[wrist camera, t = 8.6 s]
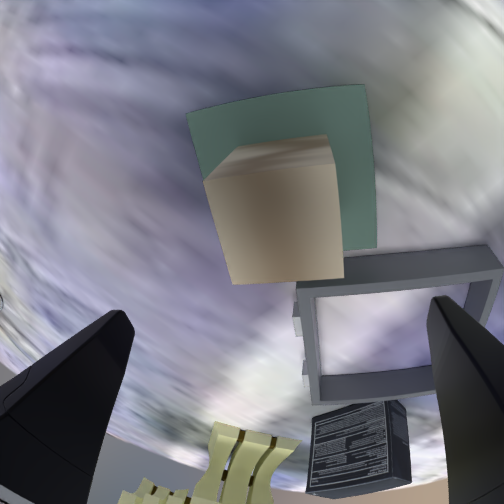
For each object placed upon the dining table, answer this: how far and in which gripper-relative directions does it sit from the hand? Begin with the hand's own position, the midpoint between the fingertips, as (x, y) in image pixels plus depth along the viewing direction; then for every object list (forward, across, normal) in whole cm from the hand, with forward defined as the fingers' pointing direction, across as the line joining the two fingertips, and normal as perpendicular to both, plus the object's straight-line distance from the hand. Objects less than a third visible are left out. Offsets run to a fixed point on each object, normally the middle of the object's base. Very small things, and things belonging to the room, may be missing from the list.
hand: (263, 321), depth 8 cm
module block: (+11, 0, 0) cm, 11 cm away
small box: (+12, -5, +29) cm, 32 cm away
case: (+12, -7, +13) cm, 19 cm away
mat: (+12, 0, 0) cm, 12 cm away
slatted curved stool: (+12, +12, +42) cm, 46 cm away
